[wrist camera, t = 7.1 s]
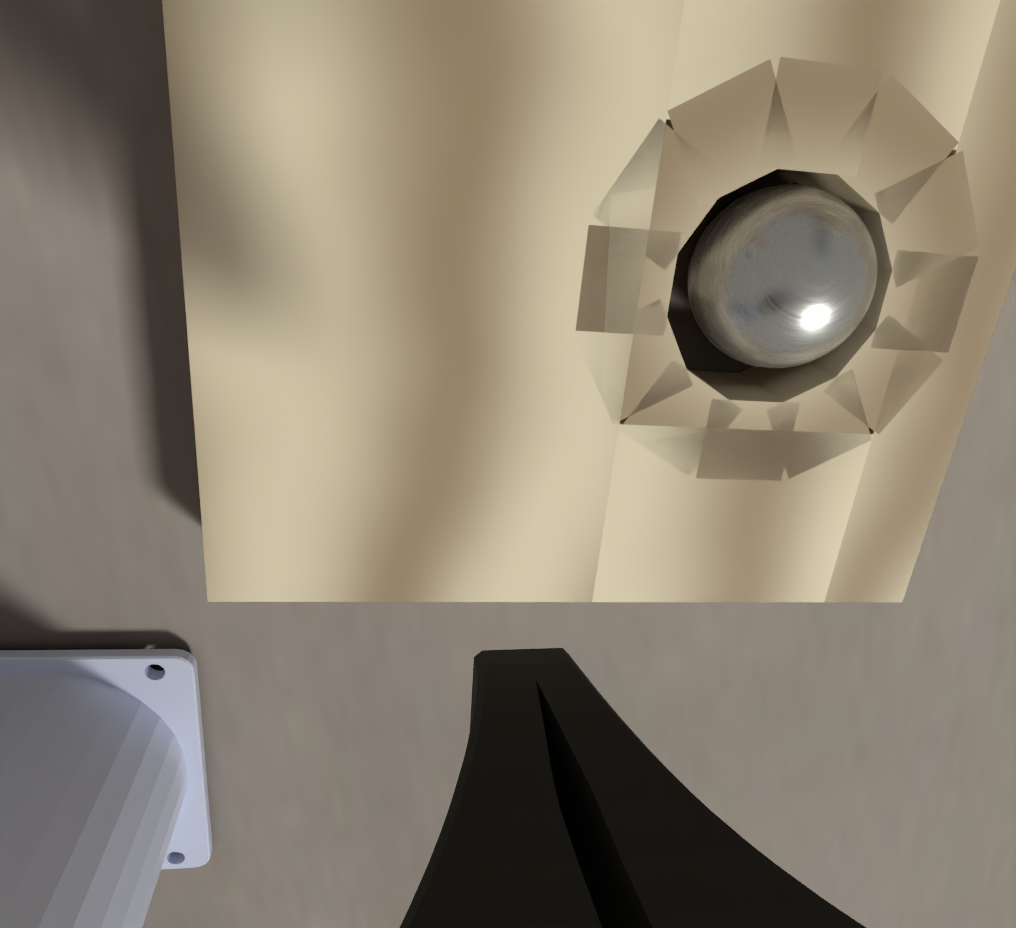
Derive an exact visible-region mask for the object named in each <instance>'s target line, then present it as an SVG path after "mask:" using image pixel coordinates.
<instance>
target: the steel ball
mask: <svg viewBox="0 0 1016 928" xmlns="http://www.w3.org/2000/svg"><path fill="white" fill-rule="evenodd" d="M877 266H878V265H877V255H876V250H875V246H874V243H873V240H872V237H871V235H870V233H869V231H868V229H867V227H866V225H865V223H864V222H863V221H862V219H861V218H860V217H859V215H858V214H857V213H856V212H855V211H854V210H853V209H852V208H851V207H850V206H849V205H847V204H846V203H845V202H844V201H842V200H841V199H839V198H838V197H836V196H834V195H833V194H831V193H828V192H826V191H824V190H821V189H818V188H814V187H810V186H804V185H796V184H787V185H777V186H771V187H766V188H762V189H759V190H756V191H753V192H751V193H749V194H747V195H745V196H742V197H740V198H739V199H737V200H736V201H734V202H732V203H731V204H729V205H728V206H727V207H726V208H725V209H723V210H722V211H721V212H720V213H719V214H718V215H717V216H716V217H715V218H714V219H713V220H712V221H711V222H710V223H709V225H708V226H707V228H706V229H705V230H704V232H703V233H702V235H701V237H700V239H699V241H698V242H697V245H696V247H695V250H694V252H693V255H692V258H691V261H690V265H689V271H688V296H689V302H690V306H691V310H692V313H693V315H694V318H695V320H696V322H697V324H698V326H699V327H700V329H701V331H702V332H703V333H704V335H705V336H706V337H707V339H708V340H709V341H710V342H711V343H712V344H713V345H714V346H715V347H717V348H718V349H719V350H720V351H722V352H723V353H725V354H726V355H728V356H730V357H732V358H733V359H735V360H737V361H740V362H742V363H745V364H748V365H752V366H756V367H764V368H787V367H793V366H798V365H802V364H805V363H808V362H811V361H813V360H816V359H818V358H820V357H822V356H824V355H825V354H827V353H829V352H830V351H832V350H834V349H835V348H836V347H838V346H839V345H840V344H841V343H843V342H844V341H845V340H846V339H847V338H848V337H849V336H850V335H851V334H852V333H853V331H854V330H855V329H856V328H857V326H858V325H859V324H860V322H861V321H862V319H863V318H864V316H865V314H866V312H867V311H868V308H869V306H870V304H871V301H872V298H873V295H874V291H875V287H876V281H877Z"/></svg>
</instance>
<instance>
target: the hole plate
mask: <svg viewBox="0 0 1016 928" xmlns="http://www.w3.org/2000/svg"><path fill="white" fill-rule="evenodd" d="M162 7H163V20H164V33H165V46H166V59H167V73H168V86H169V99H170V112H171V125H172V138H173V151H174V165H175V178H176V191H177V204H178V217H179V230H180V243H181V257H182V270H183V283H184V296H185V309H186V322H187V335H188V349H189V362H190V375H191V388H192V401H193V414H194V428H195V441H196V454H197V467H198V480H199V493H200V506H201V520H202V533H203V546H204V559H205V572H206V585H207V598H208V602H902V601H903V598H904V595H905V592H906V589H907V586H908V583H909V580H910V577H911V575H912V572H913V569H914V566H915V563H916V560H917V557H918V554H919V551H920V548H921V545H922V542H923V539H924V536H925V533H926V530H927V527H928V524H929V521H930V519H931V516H932V513H933V510H934V507H935V504H936V501H937V498H938V495H939V492H940V489H941V486H942V483H943V480H944V477H945V474H946V471H947V468H948V465H949V463H950V460H951V457H952V454H953V451H954V448H955V445H956V442H957V439H958V436H959V433H960V430H961V427H962V424H963V421H964V418H965V415H966V412H967V409H968V406H969V404H970V401H971V398H972V395H973V392H974V389H975V386H976V383H977V380H978V377H979V374H980V371H981V368H982V365H983V362H984V359H985V356H986V353H987V350H988V348H989V345H990V342H991V339H992V336H993V333H994V330H995V327H996V324H997V321H998V318H999V315H1000V312H1001V309H1002V306H1003V303H1004V300H1005V297H1006V294H1007V292H1008V289H1009V286H1010V283H1011V280H1012V277H1013V274H1014V271H1015V268H1016V0H162ZM774 170H782V171H783V172H784V173H785V174H786V175H788V176H789V177H790V178H791V179H792V180H793V181H794V182H796V183H797V184H798V185H804V186H810V187H814V188H818V189H821V190H824V191H826V192H828V193H831V194H833V195H834V196H836V197H838V198H839V199H841V200H842V201H844V202H845V203H846V204H847V205H849V206H850V207H851V208H852V209H853V210H854V211H855V212H856V213H857V214H858V215H859V217H860V218H861V219H862V221H863V222H864V223H865V225H866V227H867V229H868V231H869V233H870V235H871V237H872V240H873V243H874V246H875V250H876V255H877V265H878V266H877V281H876V287H875V291H874V295H873V298H872V301H871V304H870V306H869V308H868V311H867V312H866V314H865V316H864V318H863V319H862V321H861V322H860V324H859V325H858V326H857V328H856V329H855V330H854V331H853V333H852V334H851V335H850V336H849V337H848V338H847V339H846V340H845V341H844V342H843V343H841V344H840V345H839V346H838V347H836V348H835V349H834V350H832V351H830V352H829V353H827V354H825V355H824V356H822V357H820V358H818V359H816V360H813V361H811V362H808V363H805V364H802V365H798V366H793V367H787V368H764V367H756V366H752V367H750V368H748V369H745V370H743V371H741V372H739V373H736V372H717V371H698V370H690V369H689V368H687V367H686V366H685V363H684V361H683V358H682V355H681V353H680V350H679V347H678V345H677V342H676V339H675V337H674V334H673V331H672V328H671V326H670V323H669V320H668V318H667V314H668V308H669V302H670V296H671V291H672V285H673V279H674V273H675V267H676V261H677V255H678V253H679V251H680V250H681V248H682V247H683V246H684V244H685V243H686V242H687V240H688V239H689V238H690V236H691V235H692V233H693V232H694V231H695V229H696V228H697V227H698V225H699V224H700V223H701V221H702V220H703V219H704V217H705V216H706V214H707V213H708V212H709V210H710V209H711V208H712V206H713V205H714V204H715V202H716V201H717V199H718V198H720V197H722V196H724V195H726V194H728V193H730V192H732V191H734V190H736V189H738V188H740V187H742V186H744V185H746V184H748V183H750V182H752V181H754V180H756V179H758V178H760V177H762V176H764V175H766V174H768V173H770V172H772V171H774Z"/></svg>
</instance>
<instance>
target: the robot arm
mask: <svg viewBox="0 0 1016 928" xmlns="http://www.w3.org/2000/svg"><path fill="white" fill-rule="evenodd" d="M152 664H156V665H160V666H161V667H163V668H164V670H162V671H158V670H154V669H153V668H151V667H150V665H152ZM212 847H213V846H212V834H211V823H210V811H209V799H208V788H207V776H206V764H205V753H204V741H203V729H202V718H201V706H200V694H199V683H198V671H197V663H196V660H195V658H194V657H193V655H192V654H191V653H189V652H187V651H185V650H180V649H112V650H0V928H142V926H143V923H144V920H145V917H146V914H147V911H148V907H149V904H150V901H151V898H152V895H153V892H154V889H155V886H156V883H157V880H158V877H159V874H160V871H161V869H176V868H194V867H200V866H202V865H204V864H206V863H207V862H208V861H209V859H210V855H211V852H212ZM175 852H180V853H175ZM400 928H866V927H864V926H863V925H861V924H860V923H858V922H856V921H855V920H854V919H852V918H851V917H849V916H848V915H846V914H845V913H843V912H842V911H840V910H839V909H837V908H836V907H834V906H833V905H831V904H830V903H828V902H827V901H825V900H824V899H823V898H821V897H820V896H818V895H817V894H816V893H814V892H813V891H812V890H810V889H809V888H807V887H806V886H805V885H803V884H802V883H801V882H799V881H798V880H796V879H795V878H794V877H792V876H791V875H790V874H788V873H787V872H786V871H784V870H783V869H781V868H780V867H779V866H777V865H776V864H775V863H773V862H772V861H771V860H770V859H768V858H767V857H766V856H764V855H763V854H762V853H761V852H759V851H758V850H757V849H756V848H754V847H753V846H752V845H751V844H749V843H748V842H747V841H746V840H745V839H743V838H742V837H741V836H740V835H739V834H737V833H736V832H735V831H734V830H733V829H732V828H730V827H729V826H728V825H727V824H726V823H725V822H723V821H722V820H721V819H720V818H719V817H717V816H716V815H715V814H714V813H713V812H712V811H710V810H709V809H708V808H707V807H706V806H705V805H704V804H703V803H702V802H701V801H700V800H699V799H698V798H696V797H695V796H694V795H693V794H692V793H691V792H690V791H689V790H688V789H687V788H686V787H685V786H684V785H683V784H682V783H681V782H680V781H679V780H678V779H677V778H676V777H675V776H674V775H673V774H672V773H671V772H670V771H669V770H668V769H667V768H666V767H665V766H664V765H663V764H662V763H661V762H660V761H659V760H658V759H657V758H656V757H655V755H654V754H653V753H652V752H651V751H650V750H649V749H648V748H647V747H646V746H645V745H644V744H643V742H642V741H641V740H640V739H639V738H638V737H637V736H636V735H635V734H634V732H633V731H632V730H631V729H630V728H629V727H628V726H627V725H626V724H625V723H624V721H623V720H622V719H621V718H620V717H619V716H618V714H617V713H616V712H615V711H614V710H613V709H612V707H611V706H610V705H609V704H608V703H607V701H606V700H605V699H604V698H603V697H602V695H601V694H600V693H599V692H598V691H597V689H596V688H595V687H594V686H593V684H592V683H591V682H590V681H589V679H588V678H587V677H586V676H585V674H584V673H583V672H582V671H581V669H580V668H579V667H578V666H577V664H576V663H575V662H574V660H573V659H572V658H571V657H570V655H569V654H568V653H567V652H566V651H565V650H564V649H563V648H548V649H517V650H486V651H481V652H480V653H479V654H477V655H476V656H475V657H474V668H473V686H472V705H471V723H470V734H469V739H468V744H467V749H466V753H465V757H464V761H463V764H462V768H461V771H460V774H459V778H458V781H457V784H456V788H455V791H454V795H453V798H452V801H451V804H450V807H449V810H448V813H447V816H446V819H445V822H444V825H443V827H442V830H441V833H440V836H439V838H438V841H437V843H436V846H435V848H434V851H433V854H432V856H431V859H430V861H429V864H428V866H427V868H426V871H425V873H424V875H423V878H422V880H421V882H420V884H419V887H418V889H417V891H416V894H415V896H414V898H413V900H412V903H411V905H410V907H409V909H408V911H407V914H406V916H405V918H404V920H403V922H402V924H401V926H400Z"/></svg>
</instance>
